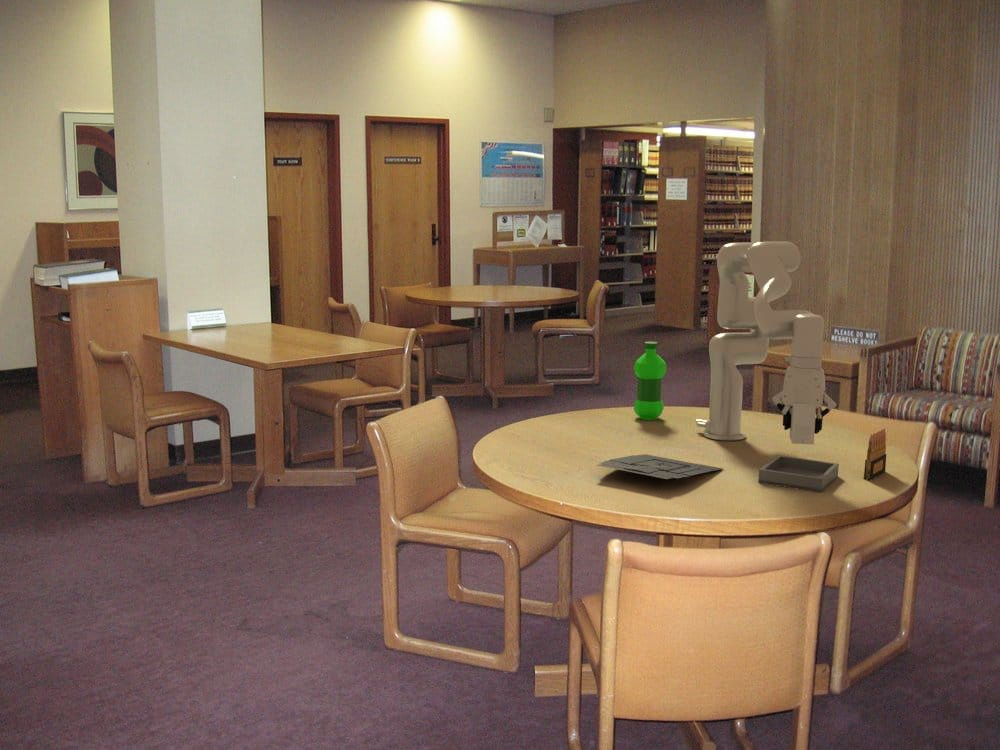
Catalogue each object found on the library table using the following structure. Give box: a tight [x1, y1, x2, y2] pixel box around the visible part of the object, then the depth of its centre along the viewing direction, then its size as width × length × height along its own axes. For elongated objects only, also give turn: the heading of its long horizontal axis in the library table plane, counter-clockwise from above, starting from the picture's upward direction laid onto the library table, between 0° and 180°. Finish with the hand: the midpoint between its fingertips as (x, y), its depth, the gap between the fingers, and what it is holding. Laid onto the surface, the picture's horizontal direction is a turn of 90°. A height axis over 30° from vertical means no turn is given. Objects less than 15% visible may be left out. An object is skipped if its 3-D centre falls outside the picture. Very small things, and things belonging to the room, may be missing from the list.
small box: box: [789, 403, 816, 445], centre depth 267 cm, size 8×6×10 cm
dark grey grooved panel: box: [596, 454, 724, 480], centre depth 274 cm, size 24×30×4 cm
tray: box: [758, 454, 840, 493], centre depth 269 cm, size 16×17×4 cm
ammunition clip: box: [863, 428, 887, 481], centre depth 273 cm, size 11×2×12 cm, turn 140°
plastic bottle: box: [633, 341, 667, 421], centre depth 336 cm, size 10×10×25 cm
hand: (801, 430), depth 267 cm, fingers closed on small box, 7 cm apart
